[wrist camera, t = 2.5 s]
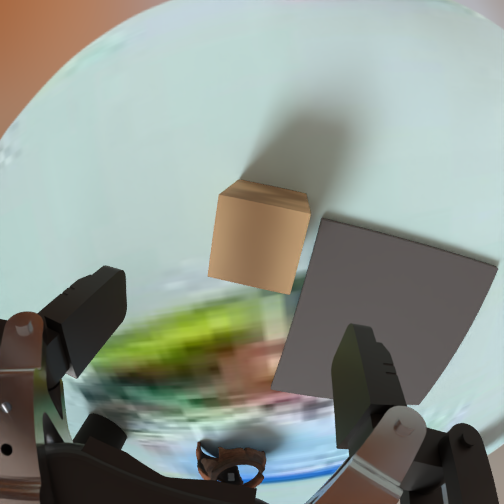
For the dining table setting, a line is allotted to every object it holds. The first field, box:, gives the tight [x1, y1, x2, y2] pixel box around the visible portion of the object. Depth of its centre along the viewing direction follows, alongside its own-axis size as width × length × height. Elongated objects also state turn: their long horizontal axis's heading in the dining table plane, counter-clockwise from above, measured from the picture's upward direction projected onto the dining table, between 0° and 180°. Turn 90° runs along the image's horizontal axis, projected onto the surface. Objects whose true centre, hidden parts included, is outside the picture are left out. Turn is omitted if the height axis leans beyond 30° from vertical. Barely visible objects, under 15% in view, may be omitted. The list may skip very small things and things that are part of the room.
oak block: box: [208, 180, 311, 295], centre depth 19 cm, size 5×5×6 cm
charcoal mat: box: [271, 218, 498, 405], centre depth 24 cm, size 18×18×1 cm
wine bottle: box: [73, 414, 126, 450], centre depth 25 cm, size 8×8×30 cm
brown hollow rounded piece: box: [196, 442, 266, 488], centre depth 33 cm, size 12×10×8 cm
